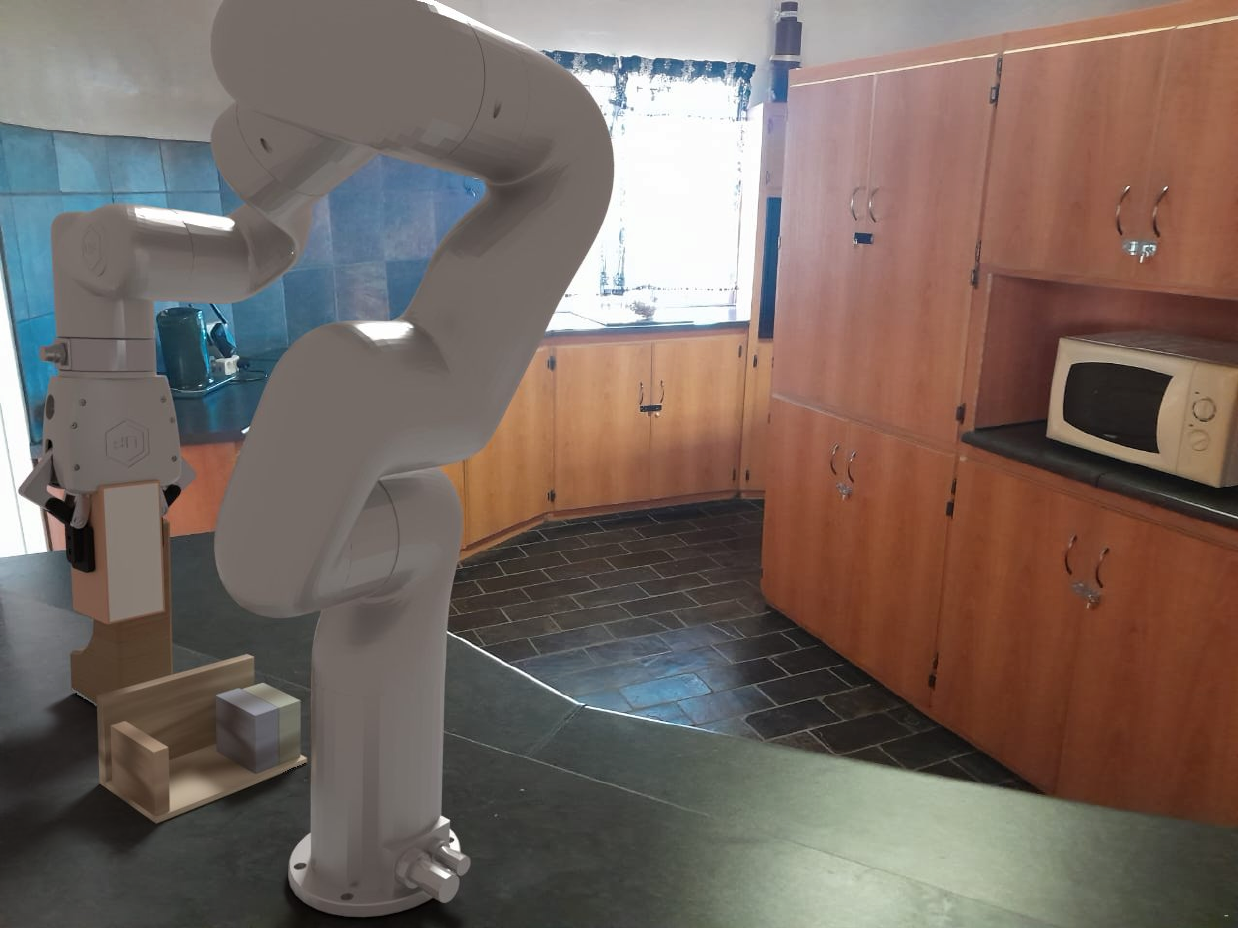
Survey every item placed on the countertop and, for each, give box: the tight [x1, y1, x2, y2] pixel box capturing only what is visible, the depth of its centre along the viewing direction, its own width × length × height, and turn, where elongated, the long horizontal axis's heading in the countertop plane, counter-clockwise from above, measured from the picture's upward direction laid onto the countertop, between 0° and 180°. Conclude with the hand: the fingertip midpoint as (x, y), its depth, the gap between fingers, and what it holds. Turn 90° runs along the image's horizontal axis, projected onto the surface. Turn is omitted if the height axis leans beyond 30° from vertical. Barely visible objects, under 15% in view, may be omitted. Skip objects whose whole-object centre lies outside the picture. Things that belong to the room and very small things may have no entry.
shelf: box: [96, 653, 308, 824], centre depth 82 cm, size 10×14×8 cm
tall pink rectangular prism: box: [70, 480, 165, 624], centre depth 82 cm, size 6×5×12 cm
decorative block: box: [69, 517, 174, 704], centre depth 95 cm, size 11×6×20 cm, turn 52°
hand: (117, 561), depth 82 cm, fingers closed on tall pink rectangular prism, 5 cm apart
